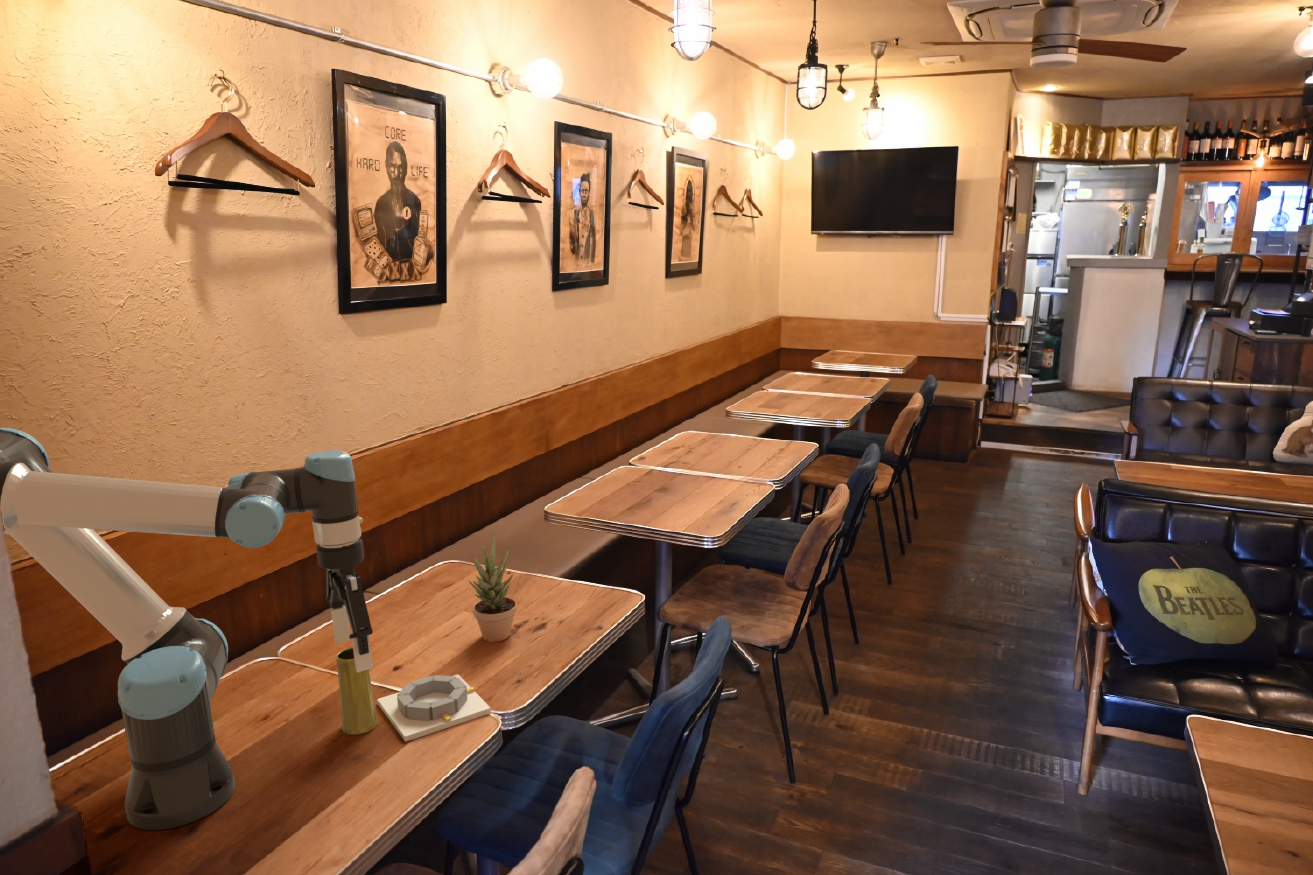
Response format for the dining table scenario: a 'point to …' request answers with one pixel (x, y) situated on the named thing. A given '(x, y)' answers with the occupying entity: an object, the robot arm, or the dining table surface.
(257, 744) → the dining table surface
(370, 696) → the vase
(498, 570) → the potted plant
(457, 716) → the socket
